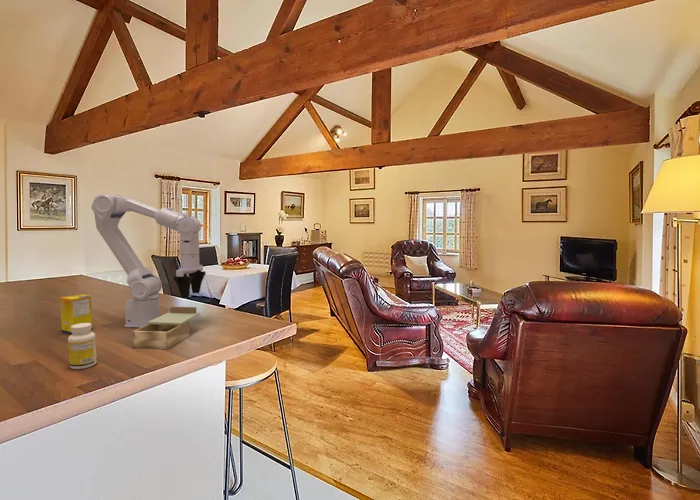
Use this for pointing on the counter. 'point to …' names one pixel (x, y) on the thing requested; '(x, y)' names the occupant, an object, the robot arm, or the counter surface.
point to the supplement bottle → (82, 346)
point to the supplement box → (75, 311)
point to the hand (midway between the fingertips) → (190, 295)
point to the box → (160, 335)
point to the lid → (176, 316)
